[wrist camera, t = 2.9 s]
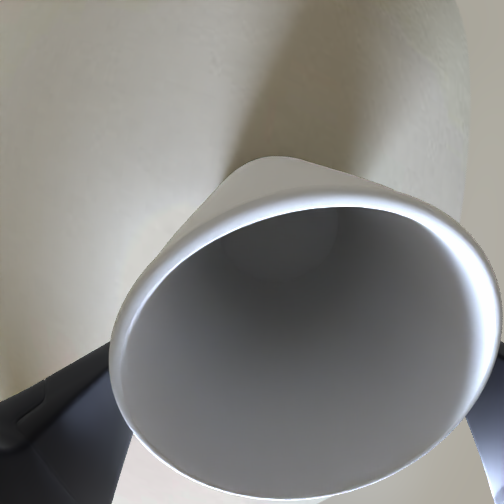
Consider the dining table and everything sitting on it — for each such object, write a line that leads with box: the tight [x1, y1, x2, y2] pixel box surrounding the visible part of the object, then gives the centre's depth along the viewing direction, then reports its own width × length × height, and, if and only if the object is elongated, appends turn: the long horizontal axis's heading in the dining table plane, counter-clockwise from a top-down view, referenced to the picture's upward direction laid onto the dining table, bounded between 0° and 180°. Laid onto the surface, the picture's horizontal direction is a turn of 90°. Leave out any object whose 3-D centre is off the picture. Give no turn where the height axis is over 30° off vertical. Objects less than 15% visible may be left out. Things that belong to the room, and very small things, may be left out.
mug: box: [109, 156, 502, 500], centre depth 11 cm, size 10×7×12 cm, turn 15°
